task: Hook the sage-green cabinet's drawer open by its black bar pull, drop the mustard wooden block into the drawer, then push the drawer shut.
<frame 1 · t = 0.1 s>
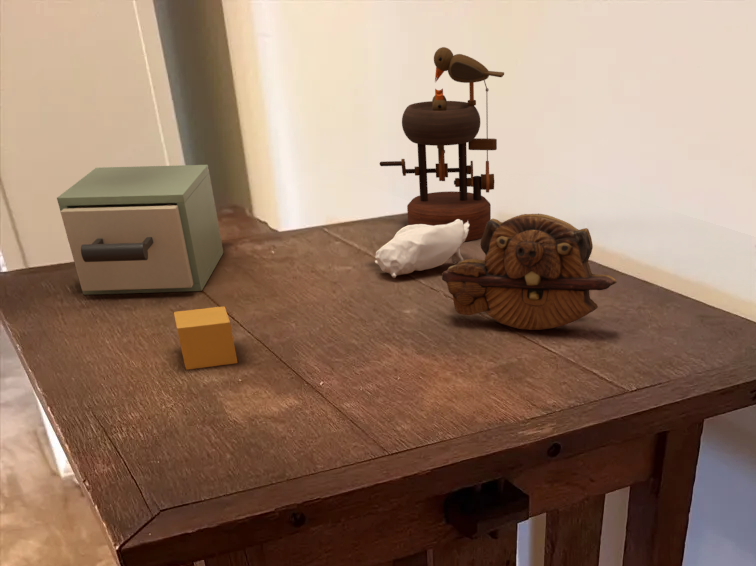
drawer: (137, 239, 97), point 5 cm above the table, slide at 0.5 cm
white lumpy oblong piece: (421, 274, 103), on the table
cabinet: (157, 272, 104), on the table
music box: (443, 233, 116), on the table
wooden carving: (526, 330, 88), on the table
block: (211, 366, 81), on the table
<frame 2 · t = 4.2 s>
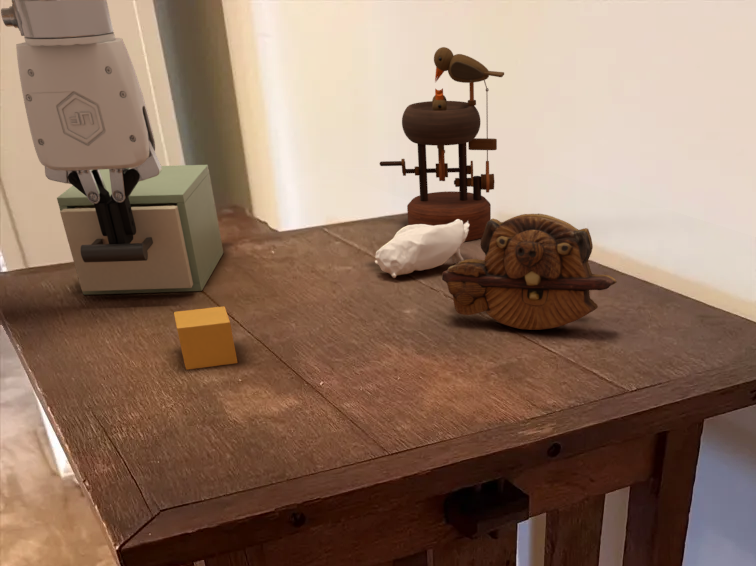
hand: (122, 242, 91), 6 cm above the table, tool pointing down, fingers closed
drawer: (137, 239, 97), point 5 cm above the table, slide at 0.6 cm, touching gripper
everything else where it was.
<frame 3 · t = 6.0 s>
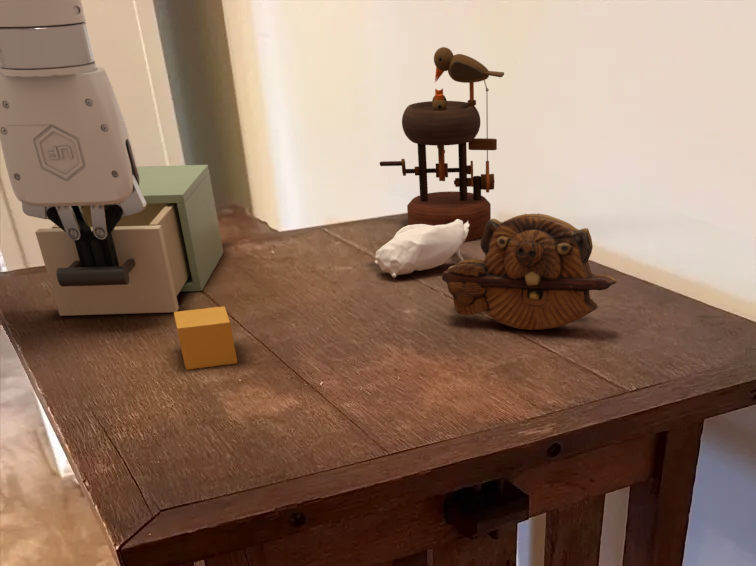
hand: (104, 280, 86), 5 cm above the table, tool pointing down, fingers closed
drawer: (119, 260, 91), point 5 cm above the table, slide at 8.3 cm
everything else where it was.
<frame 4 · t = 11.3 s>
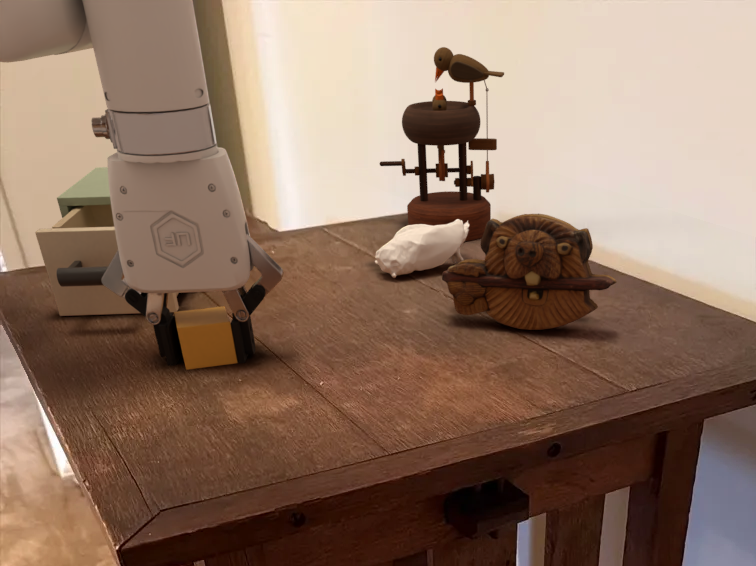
hand: (210, 361, 81), 0 cm above the table, tool pointing down, fingers closed on block, 5 cm apart
block: (211, 366, 81), on the table, touching gripper
everything else where it was.
when the fingers open (8 cm above the table, at t = 17.8 s): block drops 6 cm, resting on drawer.
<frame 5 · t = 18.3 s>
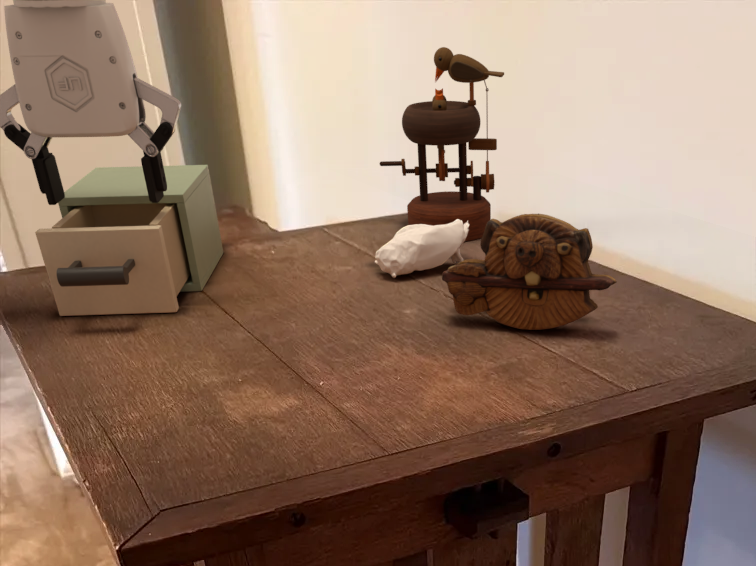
hand: (107, 200, 89), 10 cm above the table, tool pointing down, fingers open, 9 cm apart
drawer: (119, 260, 91), point 5 cm above the table, slide at 8.3 cm, touching block
block: (129, 284, 94), point 2 cm above the table, touching drawer
everything else where it was.
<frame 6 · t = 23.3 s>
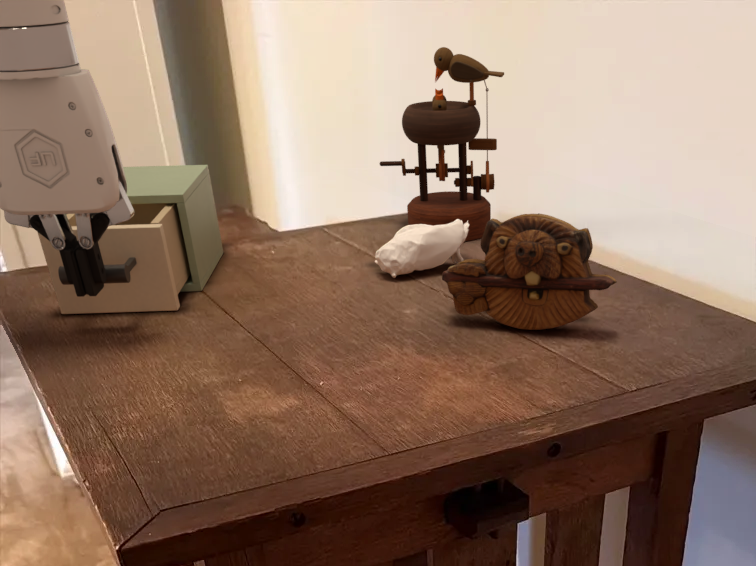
hand: (91, 291, 83), 5 cm above the table, tool pointing down, fingers closed
drawer: (120, 259, 91), point 5 cm above the table, slide at 7.7 cm, touching block, gripper
everything else where it was.
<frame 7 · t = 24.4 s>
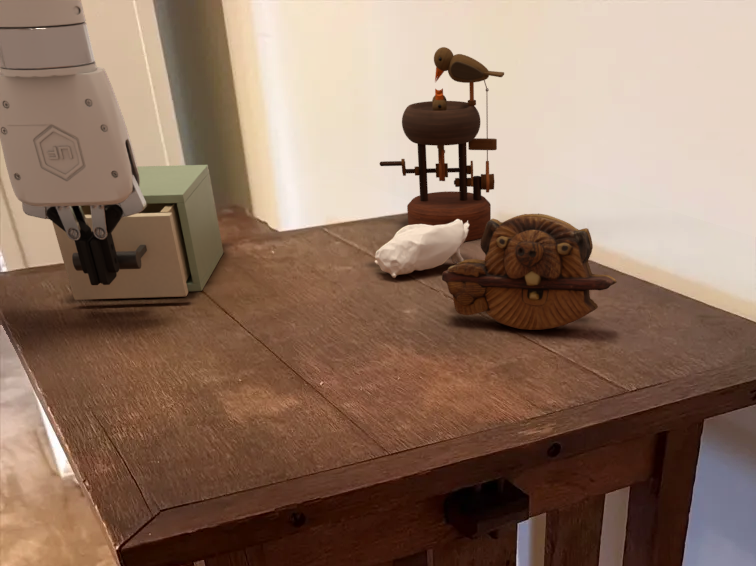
hand: (104, 280, 86), 5 cm above the table, tool pointing down, fingers closed
drawer: (130, 246, 95), point 5 cm above the table, slide at 3.4 cm, touching block, gripper
block: (140, 270, 98), point 2 cm above the table, touching drawer
everything else where it was.
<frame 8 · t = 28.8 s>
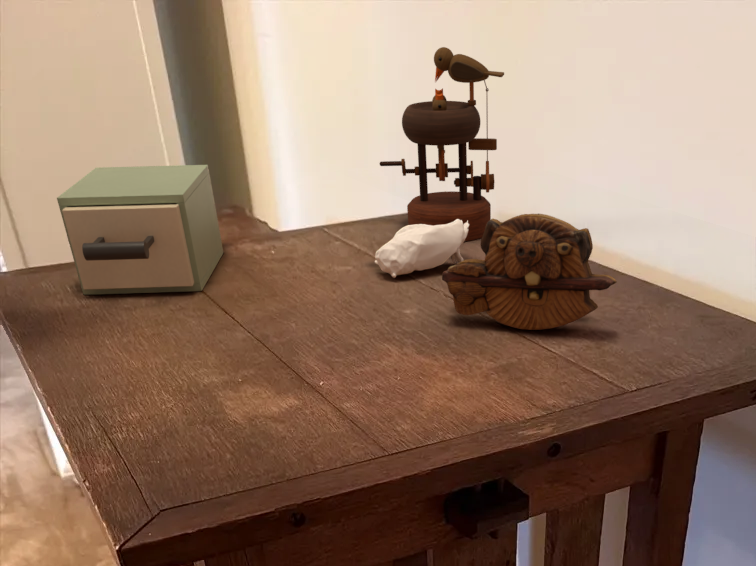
drawer: (138, 238, 97), point 5 cm above the table, slide at 0.0 cm, touching block, cabinet
block: (147, 261, 100), point 2 cm above the table, touching drawer
everything else where it was.
at the end: drawer pulled out 8.3 cm at the most during the clip, back to where it started at the end; block inside the target area in the cabinet (2.2 cm from its centre), point 2.0 cm above the cabinet's base; drawer slide at 0.0 cm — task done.
